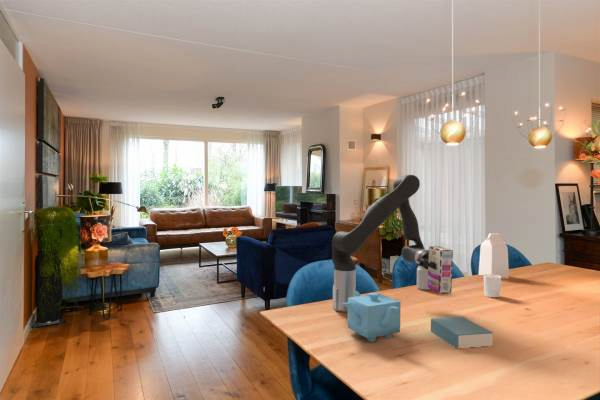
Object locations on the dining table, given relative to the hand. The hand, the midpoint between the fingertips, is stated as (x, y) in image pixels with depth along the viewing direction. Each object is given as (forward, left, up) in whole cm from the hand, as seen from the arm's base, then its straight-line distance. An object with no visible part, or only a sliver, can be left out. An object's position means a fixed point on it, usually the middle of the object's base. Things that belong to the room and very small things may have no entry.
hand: (442, 266), depth 146 cm
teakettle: (-30, -6, -23) cm, 38 cm away
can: (+18, +55, -23) cm, 62 cm away
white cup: (+45, +38, -23) cm, 63 cm away
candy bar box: (0, +3, -10) cm, 10 cm away
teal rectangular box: (0, -12, -23) cm, 26 cm away
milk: (+74, +79, -23) cm, 111 cm away
